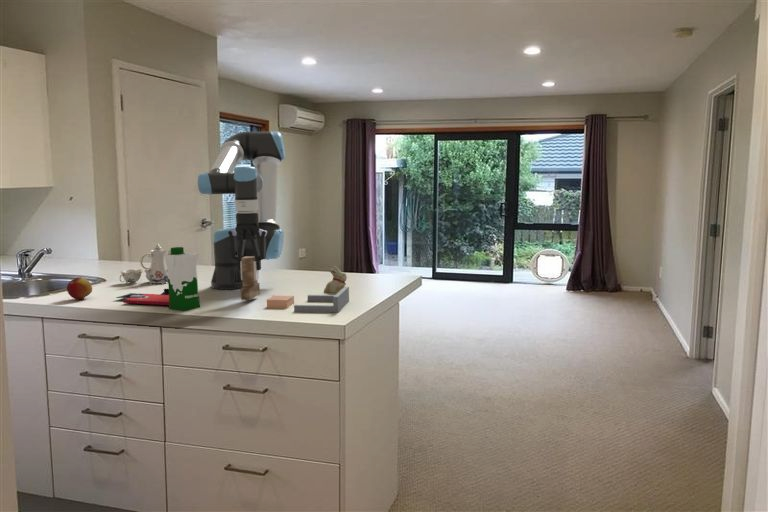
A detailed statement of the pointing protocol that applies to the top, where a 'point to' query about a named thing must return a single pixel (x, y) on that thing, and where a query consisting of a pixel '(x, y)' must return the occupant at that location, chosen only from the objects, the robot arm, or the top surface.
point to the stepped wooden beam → (249, 279)
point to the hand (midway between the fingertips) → (250, 279)
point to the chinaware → (156, 270)
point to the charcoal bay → (338, 300)
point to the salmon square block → (280, 301)
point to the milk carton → (182, 279)
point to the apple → (79, 288)
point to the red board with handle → (147, 298)
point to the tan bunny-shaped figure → (336, 281)
